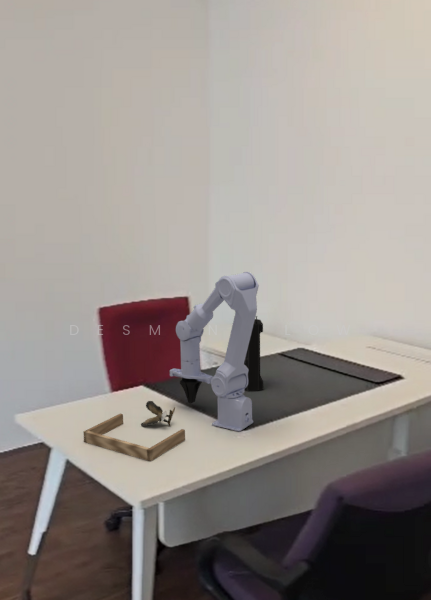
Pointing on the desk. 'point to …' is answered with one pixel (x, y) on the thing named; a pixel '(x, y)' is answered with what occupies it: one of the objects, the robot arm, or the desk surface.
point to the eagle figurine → (157, 411)
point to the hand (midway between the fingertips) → (191, 401)
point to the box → (149, 454)
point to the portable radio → (254, 358)
